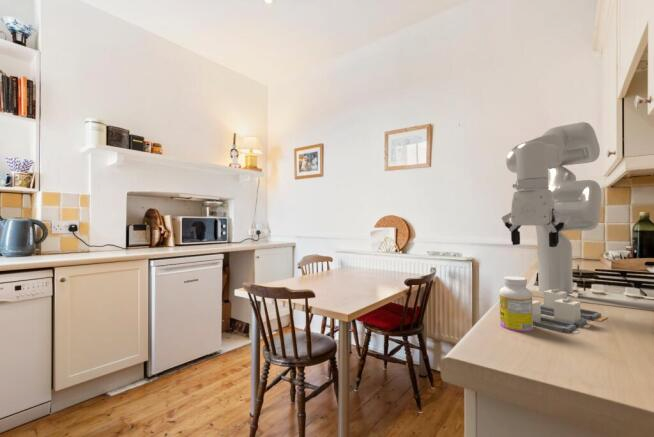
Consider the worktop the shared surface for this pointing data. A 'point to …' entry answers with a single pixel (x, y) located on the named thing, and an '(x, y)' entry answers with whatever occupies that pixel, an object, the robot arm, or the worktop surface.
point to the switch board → (568, 325)
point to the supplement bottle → (516, 305)
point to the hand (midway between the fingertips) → (533, 245)
